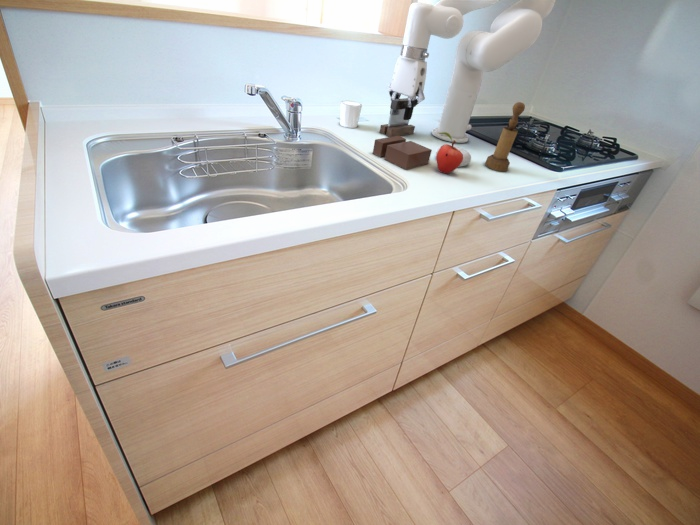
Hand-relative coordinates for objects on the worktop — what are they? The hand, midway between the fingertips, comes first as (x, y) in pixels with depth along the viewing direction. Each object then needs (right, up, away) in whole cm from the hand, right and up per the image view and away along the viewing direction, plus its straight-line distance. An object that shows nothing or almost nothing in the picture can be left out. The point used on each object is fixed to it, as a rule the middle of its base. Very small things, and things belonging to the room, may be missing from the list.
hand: (400, 116), depth 119 cm
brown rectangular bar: (-5, -16, -14) cm, 22 cm away
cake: (-1, -20, -18) cm, 27 cm away
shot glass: (-17, -2, +3) cm, 17 cm away
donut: (+13, -18, -13) cm, 26 cm away
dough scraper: (-1, -4, +3) cm, 5 cm away
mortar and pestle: (+27, -20, -11) cm, 35 cm away
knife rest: (-1, -4, +3) cm, 5 cm away
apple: (+9, -23, -20) cm, 32 cm away
